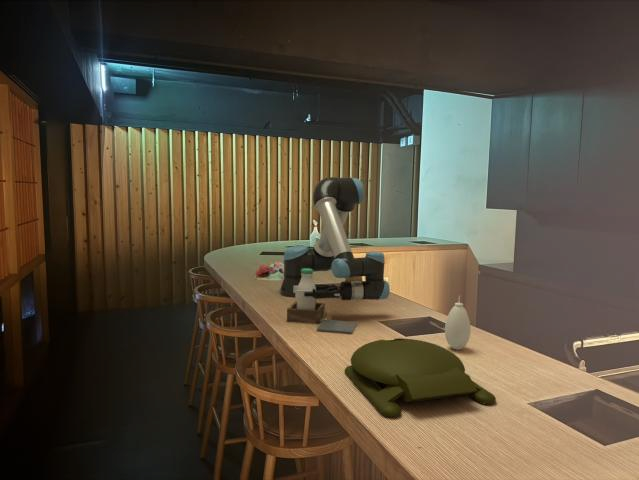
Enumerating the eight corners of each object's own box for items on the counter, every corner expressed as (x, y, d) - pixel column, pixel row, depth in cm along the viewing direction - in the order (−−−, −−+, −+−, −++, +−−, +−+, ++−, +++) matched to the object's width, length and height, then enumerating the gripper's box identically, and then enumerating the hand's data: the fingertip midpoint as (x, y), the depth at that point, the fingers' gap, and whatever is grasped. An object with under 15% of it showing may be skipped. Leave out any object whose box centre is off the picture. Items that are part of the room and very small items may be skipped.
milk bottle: (313, 321, 179) (314, 271, 177) (294, 320, 180) (295, 270, 178) (317, 316, 186) (318, 268, 184) (299, 315, 188) (299, 267, 186)
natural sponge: (362, 293, 231) (363, 273, 229) (345, 292, 231) (345, 273, 230) (361, 289, 240) (362, 270, 238) (344, 288, 240) (345, 269, 239)
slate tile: (323, 321, 180) (323, 319, 179) (356, 324, 177) (356, 322, 177) (316, 331, 167) (316, 329, 167) (352, 334, 164) (352, 332, 164)
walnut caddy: (294, 313, 191) (295, 301, 190) (324, 315, 188) (324, 303, 188) (286, 321, 179) (287, 308, 178) (318, 323, 176) (318, 311, 176)
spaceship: (500, 406, 112) (502, 367, 111) (384, 422, 103) (386, 380, 102) (427, 356, 145) (428, 325, 144) (335, 364, 137) (335, 333, 136)
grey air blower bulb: (439, 346, 153) (441, 293, 151) (458, 343, 156) (460, 292, 154) (454, 354, 146) (457, 299, 144) (474, 351, 149) (477, 297, 147)
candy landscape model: (255, 273, 280) (255, 258, 279) (293, 273, 283) (293, 258, 282) (254, 281, 256) (254, 265, 255) (296, 281, 258) (296, 265, 257)
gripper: (356, 306, 175) (296, 307, 172) (345, 294, 195) (292, 294, 192) (356, 286, 174) (297, 287, 171) (345, 276, 195) (292, 277, 191)
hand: (294, 291), depth 182 cm, fingers closed on milk bottle, 8 cm apart
